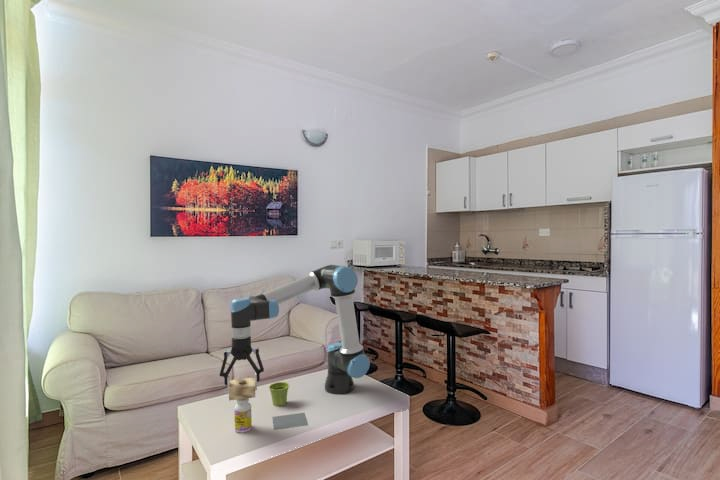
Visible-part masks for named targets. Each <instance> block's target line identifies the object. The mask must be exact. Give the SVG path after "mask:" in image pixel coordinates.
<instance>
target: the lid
mask: <svg viewBox="0 0 720 480" xmlns="http://www.w3.org/2000/svg"><path fill="white" fill-rule="evenodd" d="M246 398H249V399H253V398H256V391H255V377H245V378H237V379H230V386H229V394H228V400H229V401H237V399H246Z"/></svg>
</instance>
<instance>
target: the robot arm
mask: <svg viewBox="0 0 720 480" xmlns="http://www.w3.org/2000/svg"><path fill="white" fill-rule="evenodd" d="M357 286H358V274H357V273H356V271H355V270H354V269H353V268H351V267H350V266H346V265H336V264H328V265H325V266H322V267H320V268H318V269H314V270H311V271H310V272H309V273H308V274H307V275H306V276H303V277H301V278H298V279H296V280H293V281H290V282H288V283H286V284H283V285H281V286H278V287H276V288H273V289H271V290H269V291H265V292H263V293H261V294H258V295H256V296H255V295H254V296H253V295H252V296H247V297H243V298H242V297H240V298H233V299H232V300H231V302H230V316H231V317H230V320H231V322H230V323H231V327H230V328H231V329H230V330H231V350H223V361H222V364H221V368H220V371H219V377H223V380H224V385H225V386H227V394H228V395H229V386H230V380H231V379H230V372H231V371H232V369H233V368H234V365H235V363H236V362H237V361H241V360H243V361H245V360H247V361H248V363H249V365H250V366H251V367H252V369H253V370H254V371H255V372H254V378H255V392H256V391H258V383H259V382H260V380H261V378H260V377H261V376H260V374H261V373H263V372H264V371H265V369H264V365H263V362H262V359H261V356H260V348H259V347H256V348H255V347H254V348H252V338H251V337H252V336H251V335H252V333H251V332H252V329H251V328H252V327H251V326H252V325H251V322H253V321H260V320H268V319H269V320H270V319H273V318H277V317H278V315H279V313H280V306H279V305H281V304H283V303H286V302H287V301H290V300H293V299H295V298H298V297H300V296H302V295H304V294H307V293H310V292H312V291H319V290H324V289H329V291H330V297H331V298H333V299H334V301H335V309H336V310H335V311H336V316H337V321H338V327H339V334H340V341H341V342H333V343H331V344H328V346H327V349H326V350H327V351H326V353H327V376H326V379H325V382H324V390H325V392H327V393H329V394H335V395H336V394H338V395H341V394H348V393H350V392H352V391H353V390H354V389H355V382H354V380H353V378H354V379H360V378H362V377H365V375H366V374H367V372H368V371H369V369H370V364H371V360H370V358H369V357H368V356H367V355H366V354H365V350H364V346H363V344H361V343H360V337H359V330H358V323H357V317H356V312H355V311H356V309H355V305H354V304H355V303H354V298H353V296H354V295H355V293H356V288H357ZM252 352H253V354H254V355H255V357H256V360H257V364H258V366H257V364H256V363H255V362H254V360H253V358H252V357H251V354H252ZM230 355H232V357H233V358H232V360H231V362H230V363H229V365H228V367H227V369H226V371H225V368H226V365H227V362H228V361H227V360H228V357H229V356H230Z"/></svg>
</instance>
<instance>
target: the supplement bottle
mask: <svg viewBox="0 0 720 480" xmlns="http://www.w3.org/2000/svg"><path fill="white" fill-rule="evenodd" d="M249 401H250V398H246V399H237V400H236V404H235V406H234V431H235V432H237V433H247V432H248V431H250V430H251V429H252V421H253V420H252V404H251V403H250V402H249Z"/></svg>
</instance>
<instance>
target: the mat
mask: <svg viewBox="0 0 720 480" xmlns="http://www.w3.org/2000/svg"><path fill="white" fill-rule="evenodd" d="M271 417H272V424H273V425H272V426H273V431H276V430H277V431H278V430H284V429H290V428H297V427H304V426H309V423H308V419H307V416H306V413H305V412H299V413H292V414H284V415H276V416H271Z"/></svg>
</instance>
